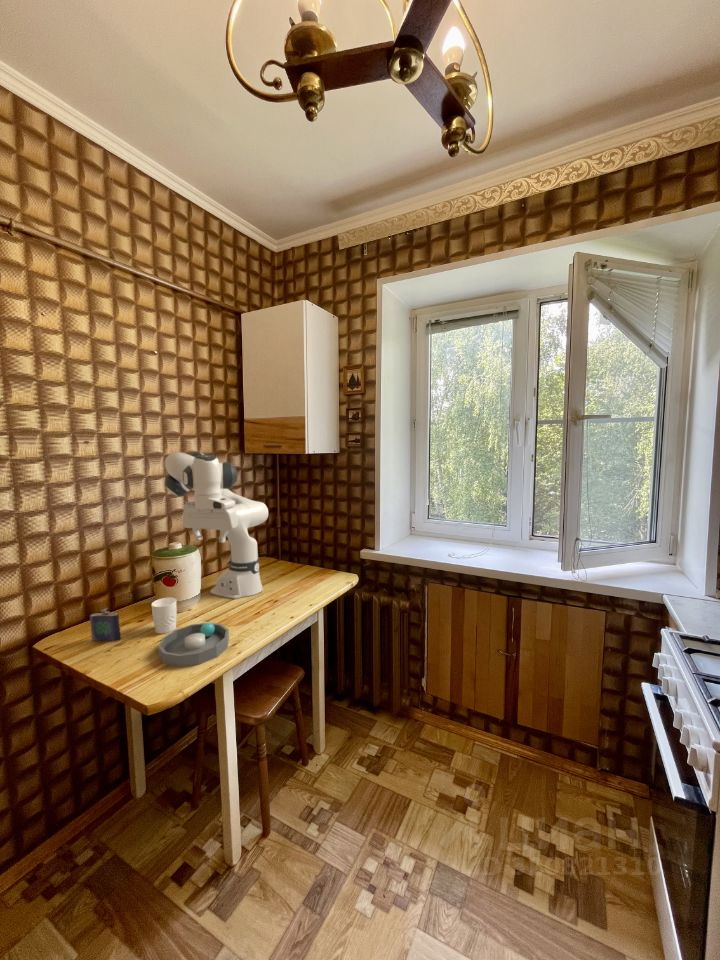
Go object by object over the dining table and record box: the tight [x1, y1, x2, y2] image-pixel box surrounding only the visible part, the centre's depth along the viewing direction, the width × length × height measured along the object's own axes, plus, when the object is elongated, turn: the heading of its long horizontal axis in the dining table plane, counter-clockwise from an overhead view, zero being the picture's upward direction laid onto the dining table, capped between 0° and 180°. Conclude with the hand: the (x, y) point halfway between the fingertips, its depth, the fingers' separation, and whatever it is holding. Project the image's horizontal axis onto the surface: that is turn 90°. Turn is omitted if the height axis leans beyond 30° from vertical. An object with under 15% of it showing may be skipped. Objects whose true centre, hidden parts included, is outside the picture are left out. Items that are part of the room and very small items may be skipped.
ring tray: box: [157, 622, 230, 668], centre depth 122 cm, size 20×20×4 cm
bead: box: [200, 622, 215, 637], centre depth 127 cm, size 4×4×4 cm
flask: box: [89, 607, 122, 643], centre depth 128 cm, size 9×3×11 cm, turn 90°
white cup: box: [151, 597, 178, 635], centre depth 134 cm, size 8×8×10 cm
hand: (210, 541), depth 133 cm, fingers open, 8 cm apart
